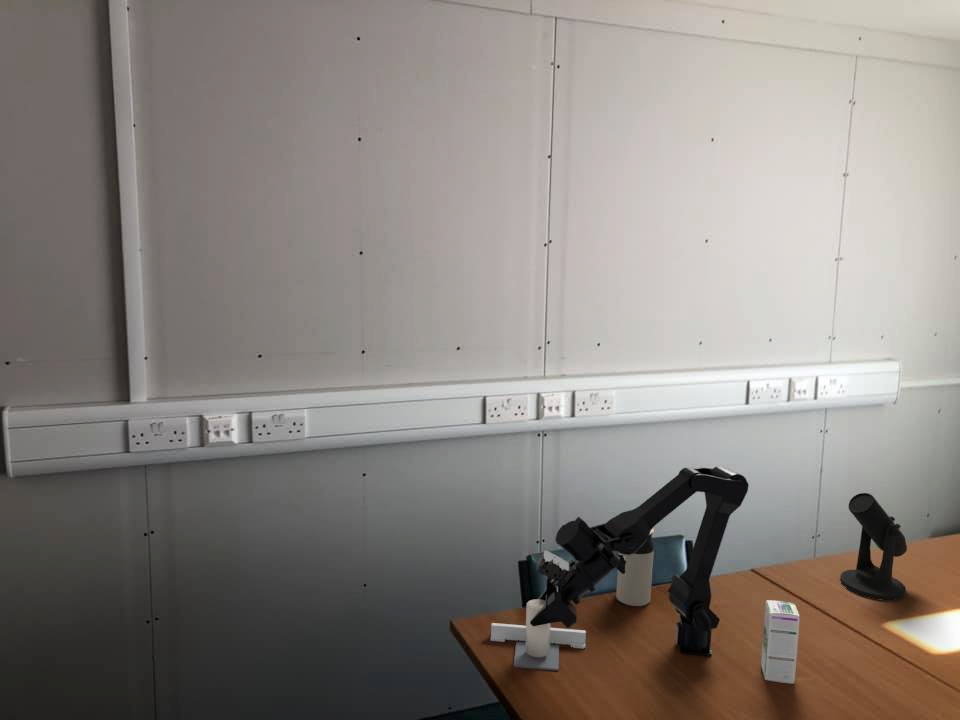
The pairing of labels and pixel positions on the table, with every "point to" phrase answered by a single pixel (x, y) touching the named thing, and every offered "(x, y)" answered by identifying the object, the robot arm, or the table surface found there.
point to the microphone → (885, 536)
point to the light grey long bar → (556, 634)
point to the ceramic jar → (536, 631)
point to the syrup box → (780, 641)
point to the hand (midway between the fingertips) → (531, 617)
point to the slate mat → (536, 658)
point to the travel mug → (637, 575)
